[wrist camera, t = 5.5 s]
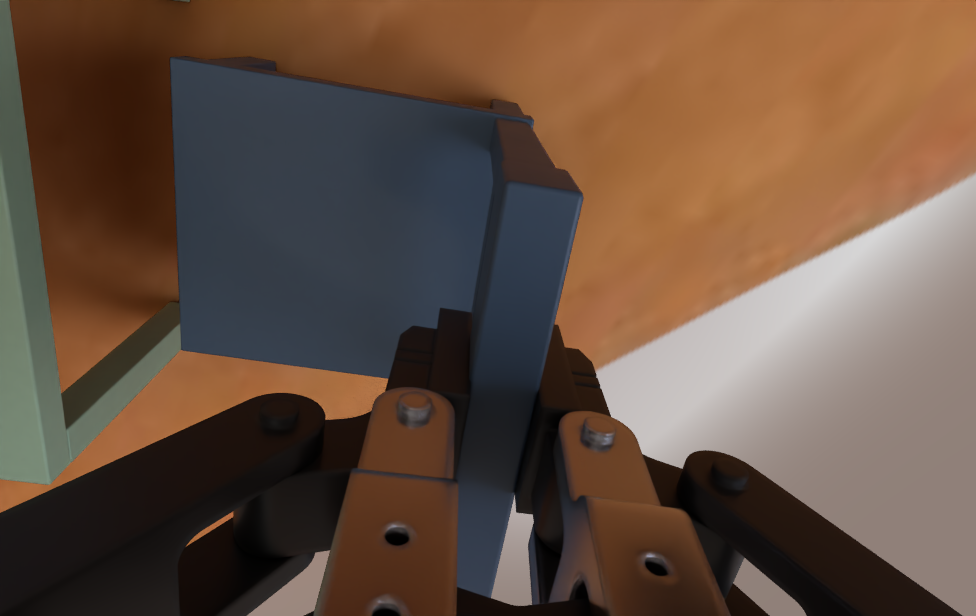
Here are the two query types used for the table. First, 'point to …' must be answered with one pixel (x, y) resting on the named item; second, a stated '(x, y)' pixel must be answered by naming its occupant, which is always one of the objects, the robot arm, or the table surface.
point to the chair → (373, 247)
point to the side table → (28, 326)
